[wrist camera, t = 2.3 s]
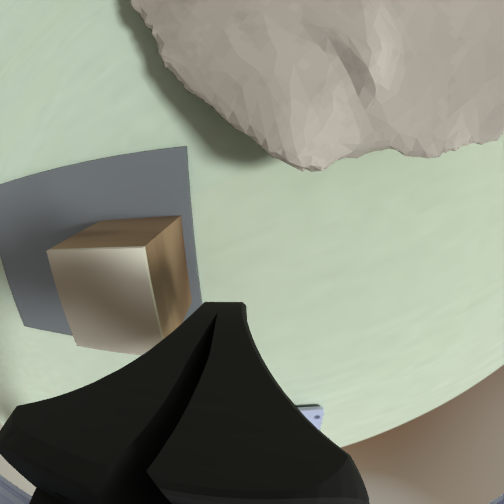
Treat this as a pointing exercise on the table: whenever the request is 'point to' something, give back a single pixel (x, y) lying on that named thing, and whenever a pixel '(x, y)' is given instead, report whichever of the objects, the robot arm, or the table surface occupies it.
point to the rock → (340, 72)
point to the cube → (123, 282)
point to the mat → (86, 220)
